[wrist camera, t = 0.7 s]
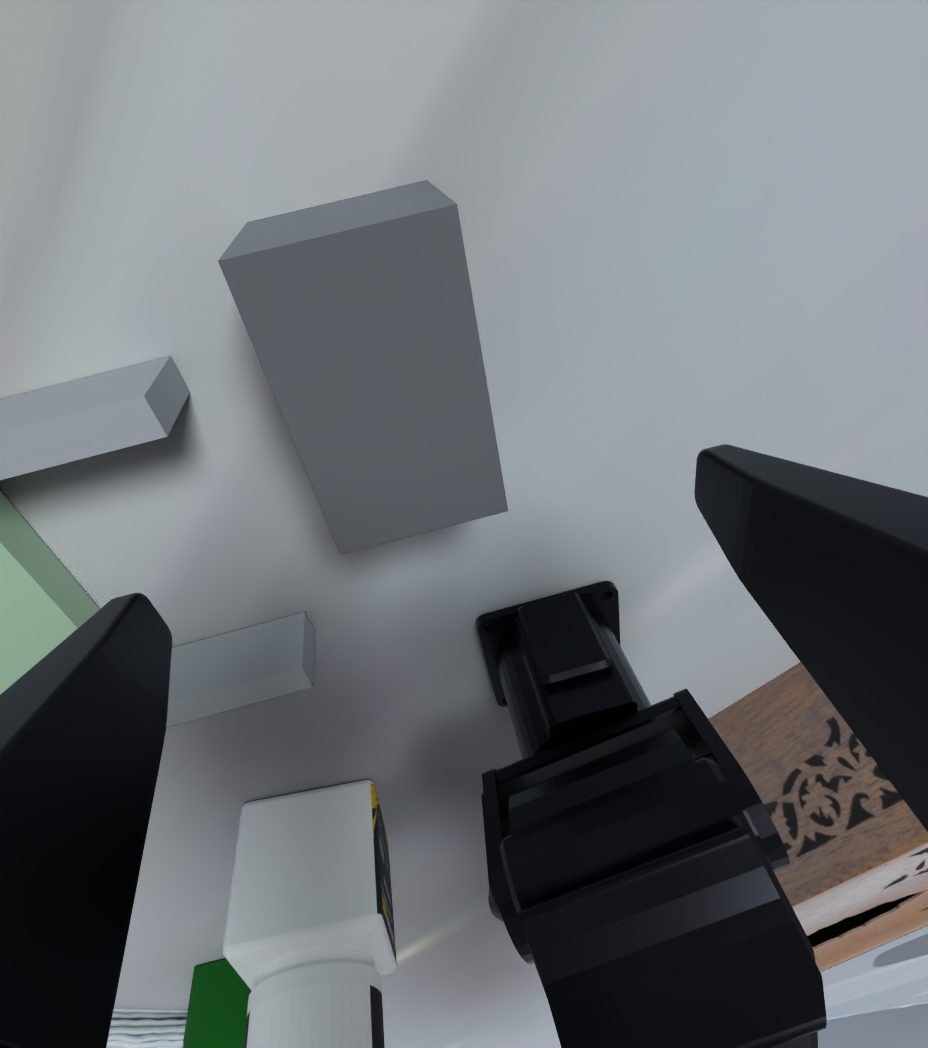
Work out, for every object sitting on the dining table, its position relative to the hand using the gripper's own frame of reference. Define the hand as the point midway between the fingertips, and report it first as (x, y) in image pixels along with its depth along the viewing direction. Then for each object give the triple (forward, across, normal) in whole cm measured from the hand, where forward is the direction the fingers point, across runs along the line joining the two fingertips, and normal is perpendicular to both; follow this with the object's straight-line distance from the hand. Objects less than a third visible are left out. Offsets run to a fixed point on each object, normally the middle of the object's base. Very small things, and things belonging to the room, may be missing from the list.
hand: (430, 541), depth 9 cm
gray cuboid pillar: (+11, 0, 0) cm, 11 cm away
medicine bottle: (+12, +11, +26) cm, 31 cm away
